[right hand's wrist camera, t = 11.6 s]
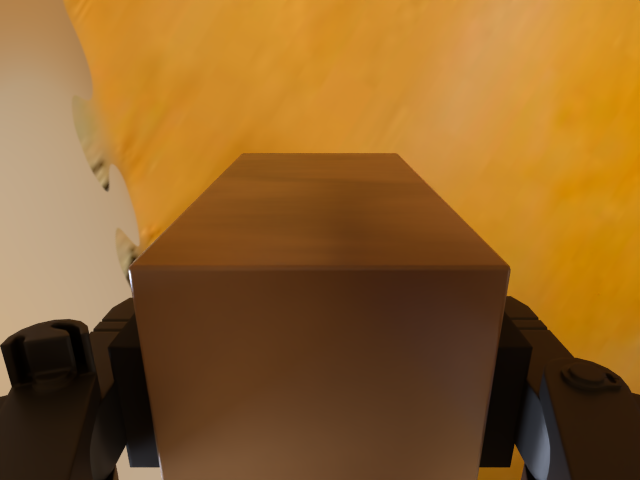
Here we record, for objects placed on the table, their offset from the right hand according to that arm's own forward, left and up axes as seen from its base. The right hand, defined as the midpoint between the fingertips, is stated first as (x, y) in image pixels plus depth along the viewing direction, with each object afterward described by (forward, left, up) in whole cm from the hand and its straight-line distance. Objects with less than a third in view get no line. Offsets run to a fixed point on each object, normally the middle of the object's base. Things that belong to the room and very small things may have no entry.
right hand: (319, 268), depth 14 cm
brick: (0, 0, -4) cm, 4 cm away
